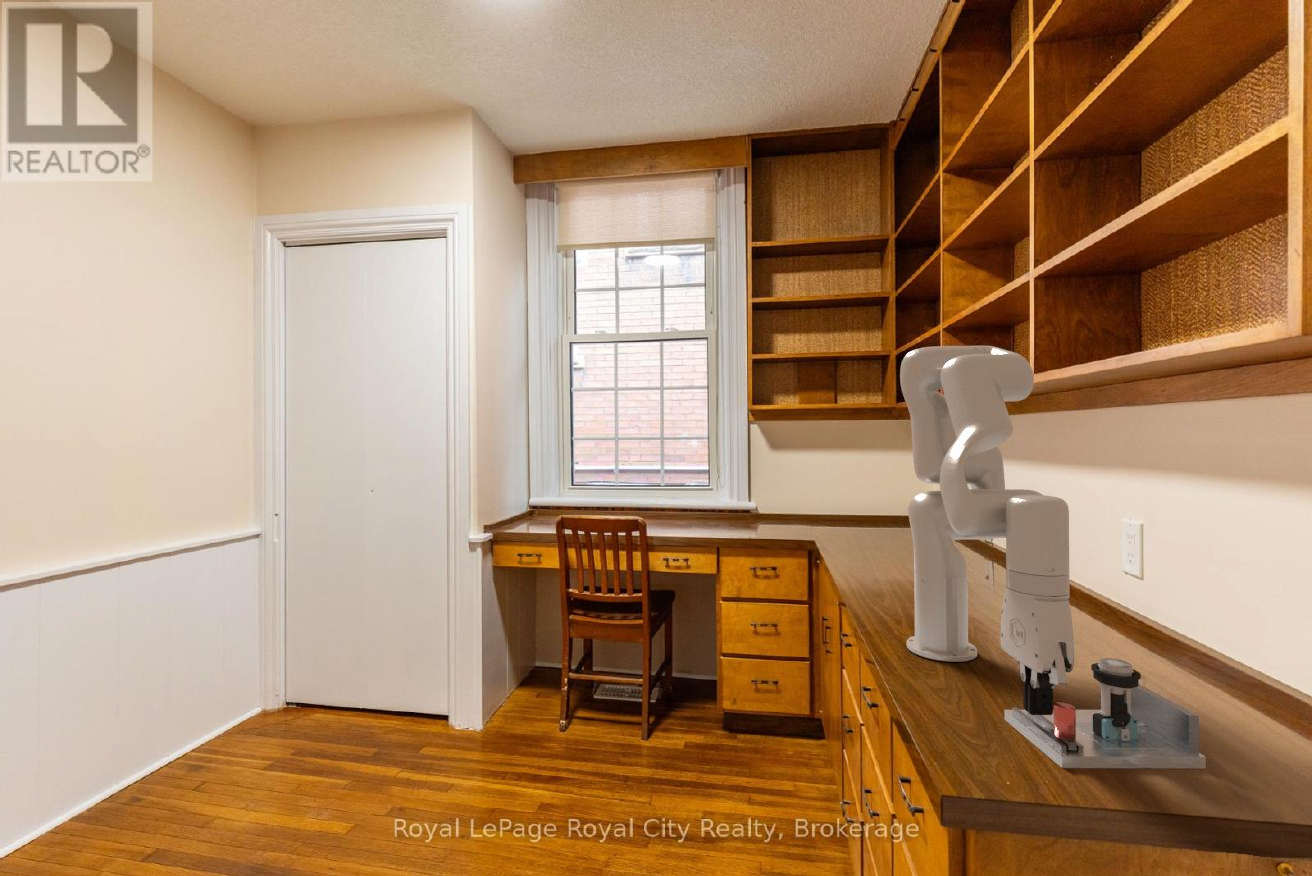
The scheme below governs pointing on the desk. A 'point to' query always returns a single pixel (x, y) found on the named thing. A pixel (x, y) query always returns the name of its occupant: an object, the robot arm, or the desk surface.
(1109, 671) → the push button
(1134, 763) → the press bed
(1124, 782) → the desk surface
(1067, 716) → the lever
